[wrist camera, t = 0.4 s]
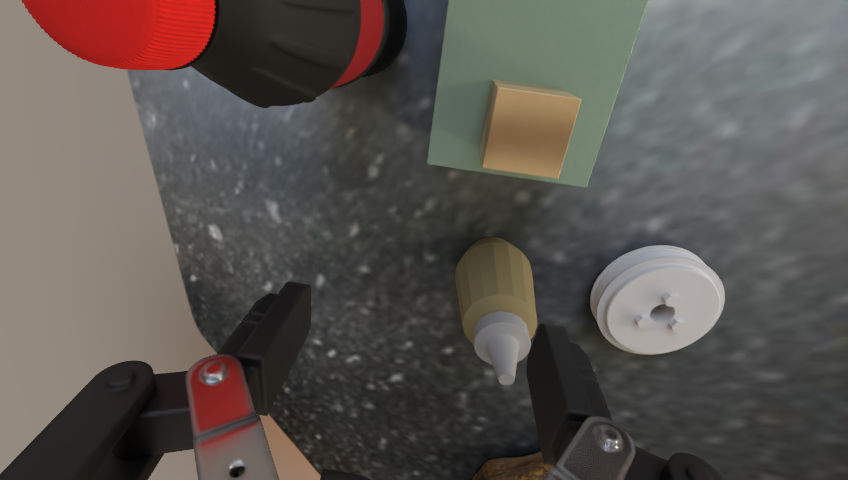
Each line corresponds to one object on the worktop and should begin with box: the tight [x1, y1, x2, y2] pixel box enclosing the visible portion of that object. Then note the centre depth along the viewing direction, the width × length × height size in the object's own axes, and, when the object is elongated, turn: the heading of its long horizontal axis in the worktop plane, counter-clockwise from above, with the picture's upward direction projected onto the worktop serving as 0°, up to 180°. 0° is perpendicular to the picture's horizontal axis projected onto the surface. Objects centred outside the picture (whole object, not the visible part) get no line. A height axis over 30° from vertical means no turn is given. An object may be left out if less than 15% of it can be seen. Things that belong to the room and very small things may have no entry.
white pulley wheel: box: [590, 245, 725, 355], centre depth 43 cm, size 13×13×5 cm
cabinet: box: [427, 0, 649, 188], centre depth 32 cm, size 15×13×10 cm
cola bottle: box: [22, 0, 407, 108], centre depth 22 cm, size 8×8×30 cm
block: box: [479, 79, 581, 179], centre depth 27 cm, size 5×5×5 cm
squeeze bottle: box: [455, 237, 537, 385], centre depth 37 cm, size 8×8×18 cm
